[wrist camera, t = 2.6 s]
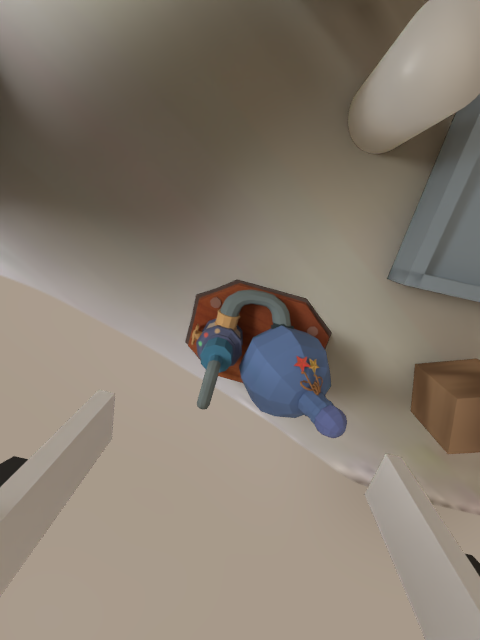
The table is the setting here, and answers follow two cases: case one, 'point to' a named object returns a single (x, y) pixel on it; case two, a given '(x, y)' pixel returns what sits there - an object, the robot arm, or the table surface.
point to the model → (266, 351)
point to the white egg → (420, 77)
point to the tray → (447, 218)
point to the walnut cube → (449, 403)
